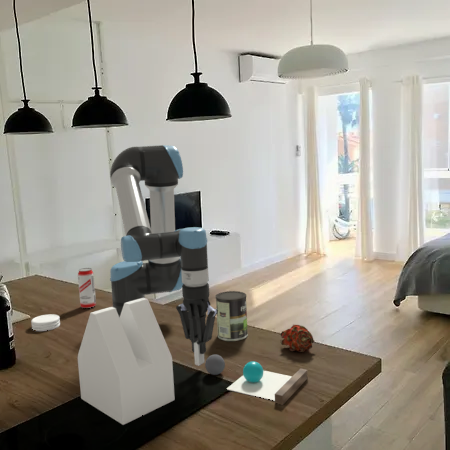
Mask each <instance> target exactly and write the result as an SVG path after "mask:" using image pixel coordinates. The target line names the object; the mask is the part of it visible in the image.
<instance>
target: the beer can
mask: <svg viewBox="0 0 450 450" xmlns="http://www.w3.org/2000/svg"><path fill="white" fill-rule="evenodd" d="M77 281H78V291H79V302H80V303H79V305H80V307H81V308H82V309H83V308H90V309H92V308H91V307H93V308H95V307H94V306H96V305H97V299H96V288H95V285H96V284H95V275H94V272H93V269H92V268H91V267H85V268H79V269H78V272H77Z"/></svg>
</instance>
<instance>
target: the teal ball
mask: <svg viewBox="0 0 450 450" xmlns="http://www.w3.org/2000/svg"><path fill="white" fill-rule="evenodd" d="M263 370H264V368H263V366H262V365H261V363H259V362H257V361H254V360H253V361H252V360H251V361H248V362H247V363H246V364H245V365H244V367H243V368H242V374H243V375H244V378H245V379H246V380H247V381H249V382H251V383H255V382H258V381H260V380H261V378H262V377H263ZM243 375H242V376H243Z"/></svg>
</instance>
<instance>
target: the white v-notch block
mask: <svg viewBox="0 0 450 450" xmlns="http://www.w3.org/2000/svg"><path fill="white" fill-rule="evenodd" d="M82 337H83V338H82V340H81V343H80V346H79V350H78V354H77V366H78V367H77V368H78V378H79V379H78V380H79V386H80V398H81V400H83V401H84V402H86V403H88V404H89V405H91V406H92V407H94V408H95V409H97V410H98V411H100V412H102V413H104V414H105V415H107V416H108V417H110V418H111V419H113V420H115V421H116V422H118V423H119V424H121V425H122V426H124V425H126V424H128V423H130V422H132V421H134V420H136V419H138V418H140V417H142V415H143V416H145V415H147V414H149V413H151V412H153V411H155V410H156V409H159V408H161V407H162V406H165V405H167V404H169V403H171V402H173V401H175V385H174V383H175V381H174V370H173V369H174V368H173V367H174V365H173V356H172V353H171V352H170V349H169V347H168V346H169V345H168V344H167V342H166V340H165V337H164V335H163V332H162V330H161V327H160V325H159V323H158V321H157V318H156V315H155V312H154V310H153V309H152V306H151V304H150V301H149V299H148V298H146V297H145V298H140V299H137V300H133V301H130V302H126V303H124V306H123V309H122V312H121V315H120V318H119V315H118V313H117V310H116V308H114V307H113V306H109V307H106V308H101V309H98V310H95V311H93V312H90V314H89V316H88V320H87V322H86V327H85V331H84V333H83V336H82Z"/></svg>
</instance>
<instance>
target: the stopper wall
mask: <svg viewBox="0 0 450 450" xmlns="http://www.w3.org/2000/svg"><path fill="white" fill-rule="evenodd" d="M307 380H308V369H306V368H299V369H298V371H296V372H295V373H294V374H293V375H292V377H291V378H290V379H289V380H288V381H287V382H286V383H285V384H284V385H283V386H282V387H281V388H280V389H279V390H278V391H277V392H276V393H275V401H274V404H275V403H278V404H277V405H279V404H281V405H280V406H284V404H286V402H287V401H288V400H289V399H290V398H291V397H292V396H293V395H294V394H295V393H296V392H297V391H298V390H299V388H300V387H302V385H303V384H304V383H305V382H306V381H307Z"/></svg>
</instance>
